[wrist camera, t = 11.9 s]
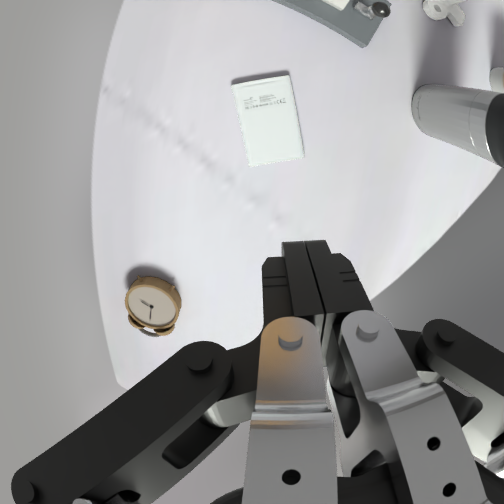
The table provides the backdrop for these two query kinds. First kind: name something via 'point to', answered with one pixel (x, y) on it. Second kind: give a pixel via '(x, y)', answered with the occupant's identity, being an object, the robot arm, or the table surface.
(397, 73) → the table surface
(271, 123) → the external hard drive
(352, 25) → the panel
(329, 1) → the block
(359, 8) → the toggle lever
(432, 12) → the joystick
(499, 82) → the coffee cup
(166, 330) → the alarm clock
